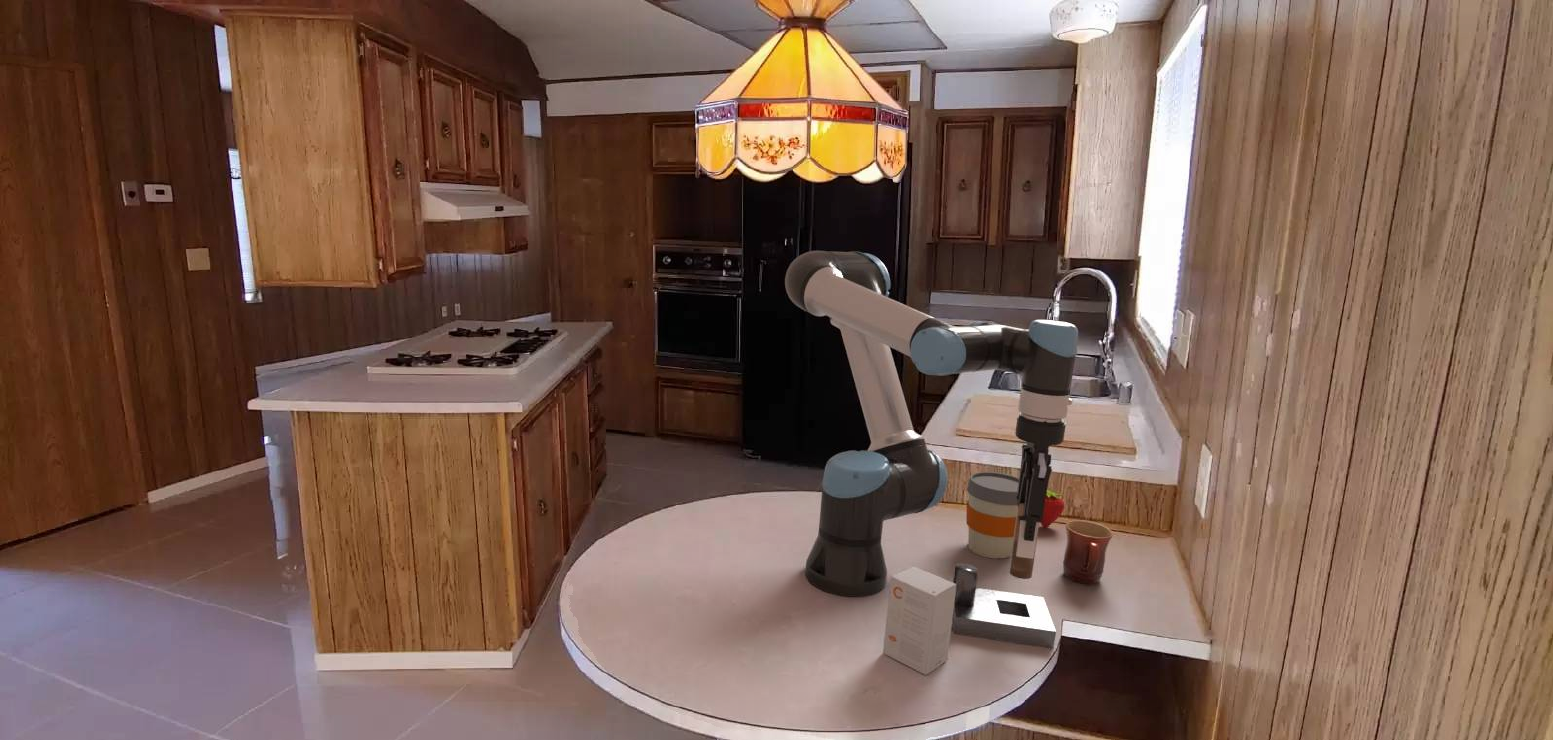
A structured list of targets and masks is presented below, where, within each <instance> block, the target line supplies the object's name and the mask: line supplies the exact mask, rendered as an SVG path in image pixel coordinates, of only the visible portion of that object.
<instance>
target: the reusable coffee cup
mask: <svg viewBox="0 0 1553 740" xmlns="http://www.w3.org/2000/svg"><path fill="white" fill-rule="evenodd" d="M1018 484H1019V477H1017V476H1014V475H1010V474H1006V473H1001V472H994V471H993V472H992V471H977V472H975V473H972V474H971V475H970V476H969V479H968V484H967V487H966V491H967V492H968V500H967V501H966V524H967V526H968V545H967V546H968V548H969V550H970V549H971V550H970V551H972V552H973V553H974V554H976V553H977V554H976V555H979V556H982V557H986V558H989V557H990V559H997V558H1001V559H1006V558H1007V557H1008V558H1009V556H1010V557H1012V551H1013V539H1014V532H1015V525H1016V518H1017V510H1018V506H1017V504H1018V501H1017V499H1016V496H1017V492H1018Z"/></svg>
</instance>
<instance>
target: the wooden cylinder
mask: <svg viewBox="0 0 1553 740" xmlns="http://www.w3.org/2000/svg"><path fill="white" fill-rule="evenodd" d="M1024 504H1025V503H1020V504H1019V507H1018V514H1017V522H1016V529H1015V536H1014V544H1013V551H1012V555H1011V559H1010V568H1009V574H1010V575H1011V576H1012V577H1014V578H1017V579H1021V580H1029V579H1031V578H1032V576H1033V569H1034V563H1035V555H1036V548H1037V540H1038V535H1039V529H1040V528H1039V527H1040V523H1039V524H1038V531H1037V538H1036V545H1035V552H1034V559H1031V558H1023V557H1017V556H1016V551H1017V544H1018V537H1019V530H1020V523H1021V520H1019V519H1018V516H1023V514H1024Z"/></svg>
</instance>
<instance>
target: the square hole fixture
mask: <svg viewBox="0 0 1553 740" xmlns="http://www.w3.org/2000/svg"><path fill="white" fill-rule="evenodd" d="M979 572H980V570H979V569H978V568H977V567H976V566H974V565H972V564H967V563H958V564H955V566H954V571H953V579H952V583H955V584H956V593H955V601H954V610H953V617H952V631H953V634H955V635H961V636H968V637H972V638H973V637H975V638H981V639H988V640H994V641H995V640H996V641H1002V642H1008V643H1015V644H1021V645H1027V646H1028V645H1029V646H1034V647H1035V646H1036V647H1041V648H1047V649H1054V646H1055V641H1056V634H1057V631H1056V628H1055V624H1054V623H1053V620H1052V617H1051V614H1050V612H1049V609H1048V607H1047V604H1046V600H1045V598H1044V596H1043V597H1042V596H1037V595H1036V596H1035V595H1030V594H1022V593H1015V592H1009V591H1008V592H1007V591H1001V590H993V589H986V588H981V587H980V588H979V587H978V580H979Z"/></svg>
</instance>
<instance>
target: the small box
mask: <svg viewBox="0 0 1553 740" xmlns="http://www.w3.org/2000/svg"><path fill="white" fill-rule="evenodd" d="M890 577H891V579H890V585H889V586H890V587H889V596H888V605H887V611H886V612H887V613H886V623H885V629H884V630H885V631H884V639H883V648H882V654H883V655H886V656H888V657H889V658H892V659H894V660H896V661H897V662H900V663H901V664H903V665H905V666H907V667H909V668H911V669H913V670H915V671H917V672H918V673H920V674H923V675H924V676H926V675H928V674H929V673H931V672H933V671H935V669H937V668H938V667H940V666H941V665H942V664H944V663H945V662H947V661H948V657H949V651H950V641H951V633H952V627H953V624H952V617H953V610H954V601H955V593H956V584H955V583H953V581H950V580H947V579H945V578H942V577H940V576H937V575H935V574H933V573H930V572H928V571H925V570H923V569H921V568H919V567H917V566H912V567H909V568H906V569H905V570H903V571H901V572H898V573H895V574H894V575H892V576H890Z"/></svg>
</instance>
